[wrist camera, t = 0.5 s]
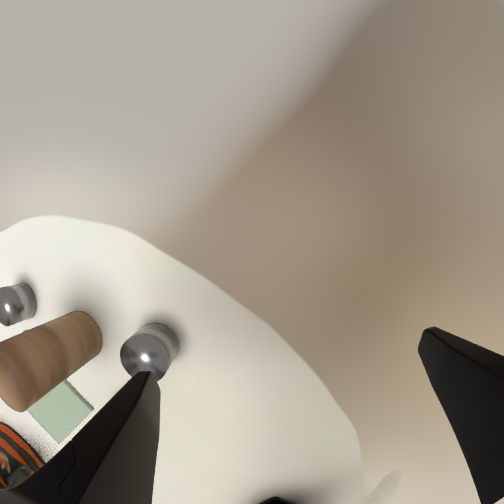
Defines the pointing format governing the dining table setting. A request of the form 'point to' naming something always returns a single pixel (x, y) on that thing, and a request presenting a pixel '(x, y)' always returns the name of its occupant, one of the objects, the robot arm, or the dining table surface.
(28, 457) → the beer stein
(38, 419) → the mat
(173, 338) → the cylinder
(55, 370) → the walnut post
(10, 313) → the cylinder
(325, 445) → the dining table surface
